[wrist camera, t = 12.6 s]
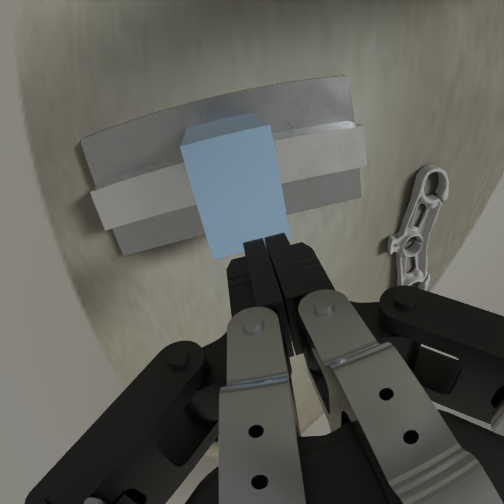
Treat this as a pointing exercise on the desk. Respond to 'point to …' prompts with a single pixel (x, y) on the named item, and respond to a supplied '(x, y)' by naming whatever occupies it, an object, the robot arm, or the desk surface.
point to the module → (235, 182)
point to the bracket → (418, 228)
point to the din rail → (212, 109)
